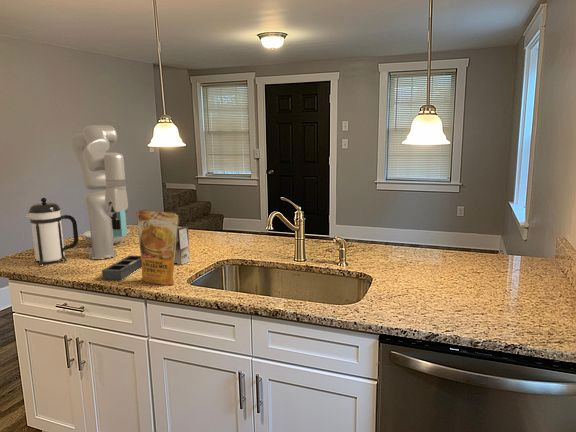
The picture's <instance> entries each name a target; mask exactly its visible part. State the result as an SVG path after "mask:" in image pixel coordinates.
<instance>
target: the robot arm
mask: <svg viewBox="0 0 576 432" xmlns="http://www.w3.org/2000/svg"><path fill="white" fill-rule="evenodd" d="M117 140H118V133H117V130H116V128H114V127H113V126H112V125H109V124H107V125H103V124H102V125H100V124H99V125H98V124H95V125H93V124H92V125H87V126H85V127H84V128H83V129H82V133H77V134H74V135H73V136H72V137H71V139H70V143H71V144H70V145H71V150H72V153H73V154H74V156H75V158H76V160H77V161H78V164H79V166H80V169H81V174H82V178H83V182H84V185H85V188H86V189H87V190H89V191H90V192H88V193H87V194H86V195H85V197H84V202H85V206H86V211H87V214H88V222H89V231H90V233H91V247H86V248H85V250H84V252H85V253H90V254H89V256H88V258H89V257H90V258H95V259H101V258H109V257H113V256H115V255H117V253H118V252H117V251H116V250H114V249H115V248H114V244H113V236H112V228H113V229H120V220H118V219H119V212H120V211H122V210H124V209H125V214H126V215H127V212H128V210H129V200H128V194H127V183H126V174H125V160H124V155H123V154H122V153H119V152H108V151H110V150H111V149H112V148H113V147H114V145H115V144H116V143H117ZM113 211H115V212H113ZM115 214H116V216H115ZM117 256H118V255H117ZM90 258H89V259H90ZM113 258H114V257H113ZM109 259H110V258H109Z"/></svg>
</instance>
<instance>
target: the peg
mask: <svg viewBox="0 0 576 432" xmlns="http://www.w3.org/2000/svg"><path fill="white" fill-rule="evenodd" d="M113 212H115V211H113ZM115 216H116V214H115ZM118 220H120V229H113V236H117V237H122V236H125V235H126V236H127V235H128V233H127V229H128V228H127V227H128V226H127V213H126V214H125V209H124V210H122V211H120V212H119V219H118Z"/></svg>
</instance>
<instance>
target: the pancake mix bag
mask: <svg viewBox="0 0 576 432" xmlns="http://www.w3.org/2000/svg"><path fill="white" fill-rule="evenodd" d="M179 216H180V215H178V214H177V213H176V212H169V211H159V210H146V209H145V210H143V209H142V210H138V211H136V217H137V220H136V221H137V228H138V245H139V252H140V256H141V261H142V268H141V279H142V280H143V282H144V281H145V283H148V282H150V283H149V284H154V283H156V284H155V285H159V284H161V285H160V286H171V285H175V281H174V278H173V277H174V272H175V271H174V270H175V264H174V261H175V252H176V243H177V232H178V226H179V224H180V217H179Z"/></svg>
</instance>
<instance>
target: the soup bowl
mask: <svg viewBox="0 0 576 432" xmlns="http://www.w3.org/2000/svg"><path fill="white" fill-rule="evenodd" d="M130 232H131V230H130V229H129V228H127V234H128V233H130ZM112 236H113V228H112ZM81 237H83V238H85V239H86V241H88V242H89V243H91V233H90V230H87V231H84V232H83V233H81ZM126 237H127V235H125V236H122V237H117V236H113V245H114V243H115V244H118V243H119V242H120V243H121V242H122V241H123V240H124V239H125V238H126ZM91 244H92V243H91Z"/></svg>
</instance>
